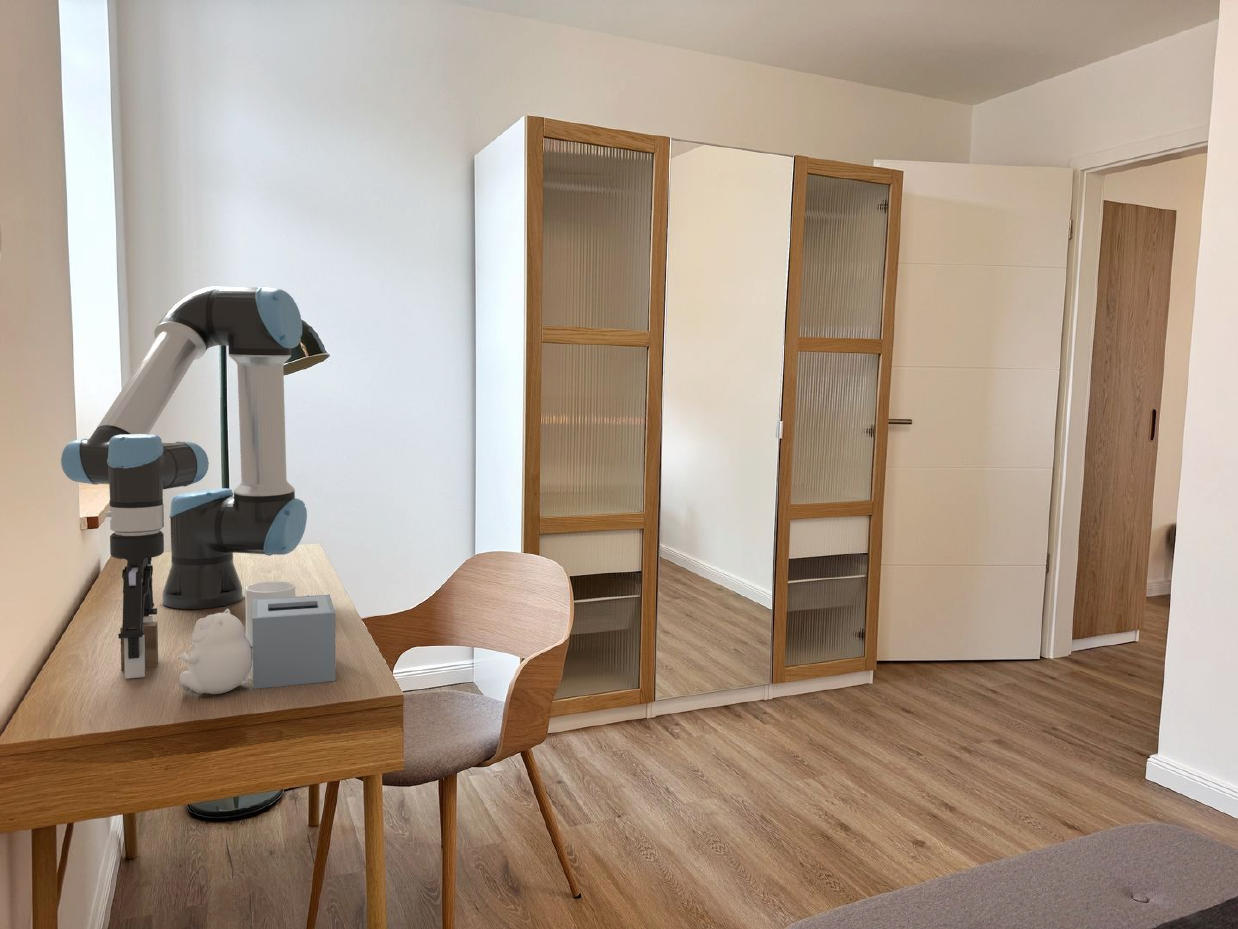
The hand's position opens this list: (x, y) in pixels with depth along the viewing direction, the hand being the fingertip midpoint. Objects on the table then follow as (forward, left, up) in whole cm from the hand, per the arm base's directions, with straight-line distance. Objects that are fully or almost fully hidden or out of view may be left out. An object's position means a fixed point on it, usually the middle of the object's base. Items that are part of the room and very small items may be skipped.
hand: (139, 665), depth 141 cm
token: (0, 0, 0) cm, 0 cm away
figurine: (+15, +12, 0) cm, 20 cm away
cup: (-10, +20, 0) cm, 22 cm away
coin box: (+10, +23, 0) cm, 25 cm away
